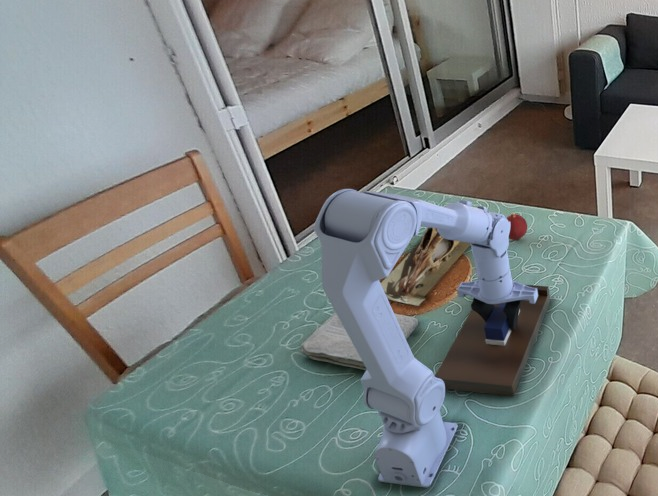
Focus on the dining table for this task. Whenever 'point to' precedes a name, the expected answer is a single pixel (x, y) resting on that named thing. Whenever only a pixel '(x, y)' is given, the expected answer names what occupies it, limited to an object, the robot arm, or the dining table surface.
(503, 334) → the trainer
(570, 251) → the dining table surface
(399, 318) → the washcloth
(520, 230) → the onion
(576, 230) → the dining table surface
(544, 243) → the dining table surface
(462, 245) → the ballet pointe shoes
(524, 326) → the shoe shelf
